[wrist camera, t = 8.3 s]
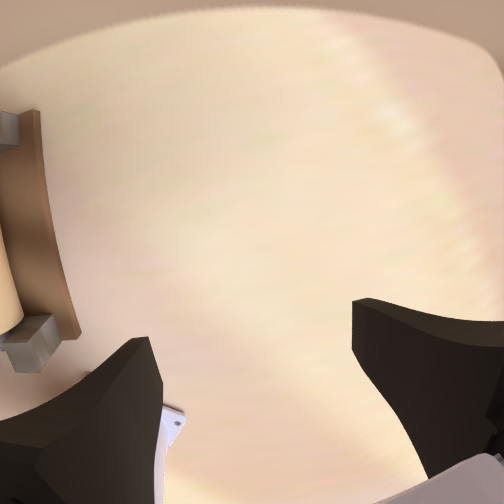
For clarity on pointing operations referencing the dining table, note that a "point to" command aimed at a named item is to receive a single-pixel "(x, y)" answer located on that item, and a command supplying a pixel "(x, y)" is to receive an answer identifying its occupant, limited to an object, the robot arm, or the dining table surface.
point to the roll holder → (31, 247)
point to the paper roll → (7, 298)
